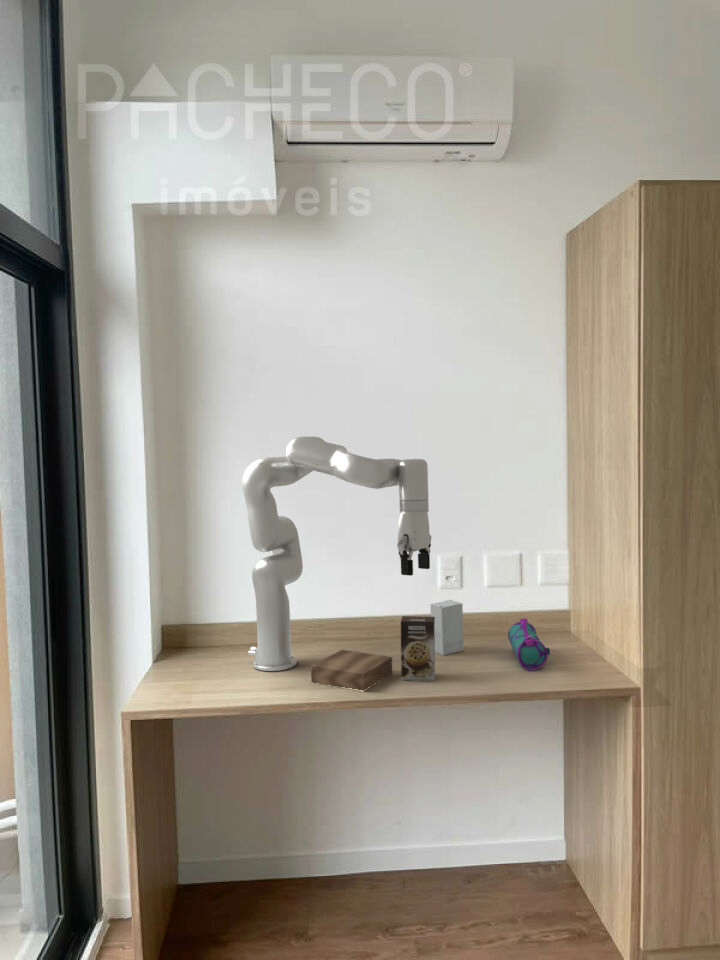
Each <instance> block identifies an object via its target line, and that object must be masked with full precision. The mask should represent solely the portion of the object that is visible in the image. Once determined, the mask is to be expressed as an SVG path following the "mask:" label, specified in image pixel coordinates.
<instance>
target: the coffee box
mask: <svg viewBox="0 0 720 960" xmlns="http://www.w3.org/2000/svg"><path fill="white" fill-rule="evenodd" d="M400 619H401V620H400V681H405V680H409V681H408V682H410V680H412V681H411V682H413V681H414V682H435V680H436V652H435V617H431V616H417V615H416V616H411V615H410V616H409V615H402V616H401V618H400Z"/></svg>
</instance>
